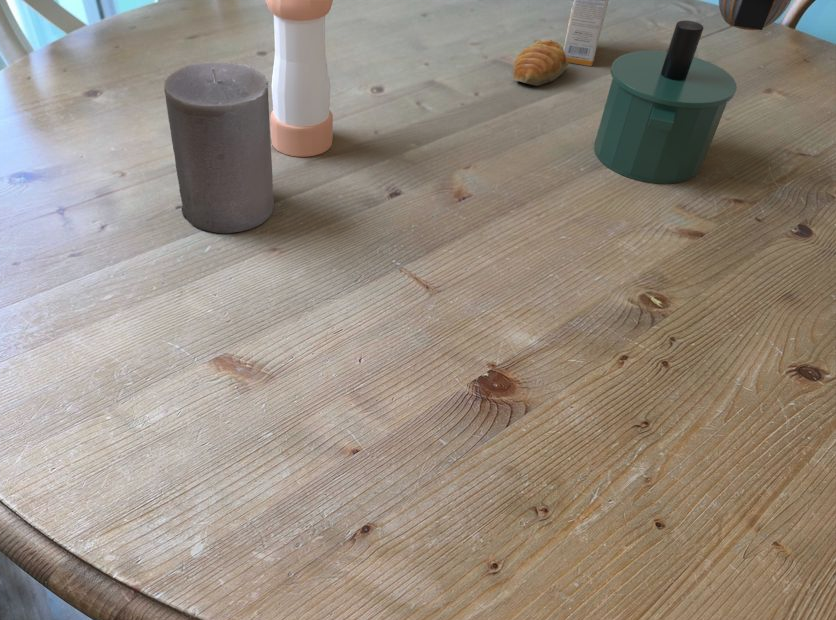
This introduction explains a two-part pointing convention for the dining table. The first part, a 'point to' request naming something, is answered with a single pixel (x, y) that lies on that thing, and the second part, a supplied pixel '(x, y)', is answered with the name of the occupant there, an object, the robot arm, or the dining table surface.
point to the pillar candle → (221, 145)
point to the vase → (731, 5)
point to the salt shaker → (300, 78)
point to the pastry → (540, 63)
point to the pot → (654, 137)
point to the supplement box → (584, 30)
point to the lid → (675, 73)
